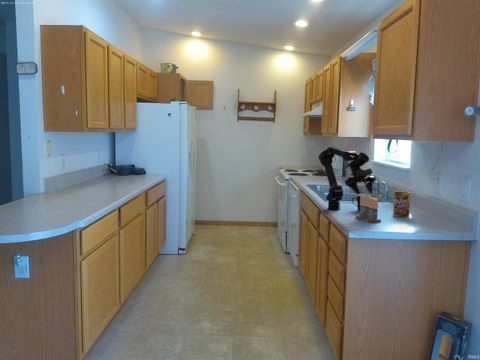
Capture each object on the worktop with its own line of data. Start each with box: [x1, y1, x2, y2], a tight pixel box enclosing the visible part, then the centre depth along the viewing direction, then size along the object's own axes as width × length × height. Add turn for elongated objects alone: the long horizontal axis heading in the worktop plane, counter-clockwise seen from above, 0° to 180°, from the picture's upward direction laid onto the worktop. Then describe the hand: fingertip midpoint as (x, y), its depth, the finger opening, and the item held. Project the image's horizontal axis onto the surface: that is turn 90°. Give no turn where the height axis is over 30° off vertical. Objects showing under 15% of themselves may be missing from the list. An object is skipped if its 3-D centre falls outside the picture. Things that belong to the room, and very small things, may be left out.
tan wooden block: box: [360, 196, 379, 209], centre depth 220 cm, size 12×2×6 cm, turn 23°
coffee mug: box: [351, 193, 372, 212], centre depth 248 cm, size 12×9×10 cm
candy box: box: [392, 190, 412, 219], centre depth 232 cm, size 9×4×15 cm, turn 60°
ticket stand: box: [355, 205, 382, 224], centre depth 221 cm, size 13×7×8 cm, turn 23°
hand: (365, 193), depth 223 cm, fingers open, 9 cm apart
